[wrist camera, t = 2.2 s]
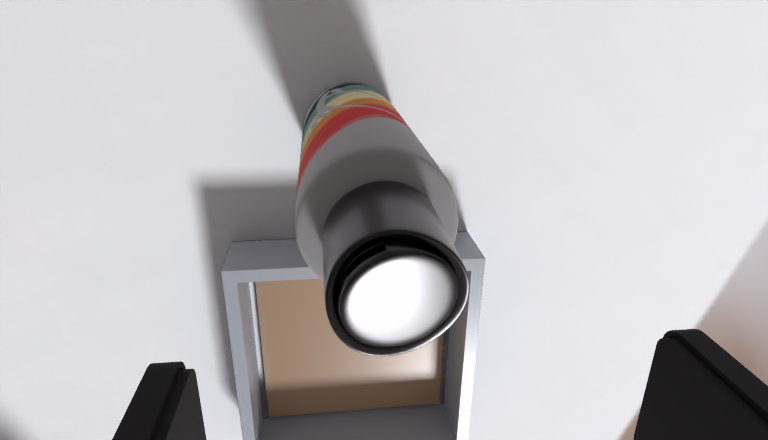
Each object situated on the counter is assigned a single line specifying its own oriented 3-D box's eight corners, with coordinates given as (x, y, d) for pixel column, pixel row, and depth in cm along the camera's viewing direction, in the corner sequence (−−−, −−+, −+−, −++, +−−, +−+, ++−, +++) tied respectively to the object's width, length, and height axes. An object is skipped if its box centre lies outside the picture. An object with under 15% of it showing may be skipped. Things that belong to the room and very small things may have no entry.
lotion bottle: (360, 60, 30) (433, 152, 11) (415, 137, 32) (549, 319, 14) (283, 119, 30) (236, 294, 12) (341, 190, 33) (375, 430, 14)
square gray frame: (231, 241, 33) (221, 271, 29) (467, 231, 35) (485, 258, 31) (253, 426, 39) (246, 470, 35) (453, 410, 41) (466, 450, 37)
